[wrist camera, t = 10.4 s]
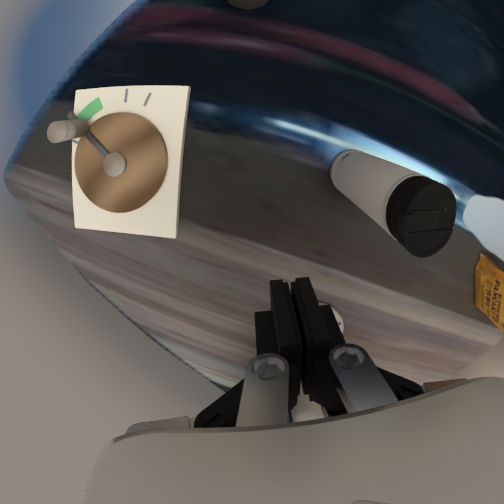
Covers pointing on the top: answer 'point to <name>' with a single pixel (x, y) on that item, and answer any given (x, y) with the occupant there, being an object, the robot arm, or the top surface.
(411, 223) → the travel mug
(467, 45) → the top surface
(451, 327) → the top surface
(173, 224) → the dial plate
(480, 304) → the pancake mix bag
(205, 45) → the top surface
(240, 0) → the candle holder
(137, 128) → the dial
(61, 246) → the top surface
